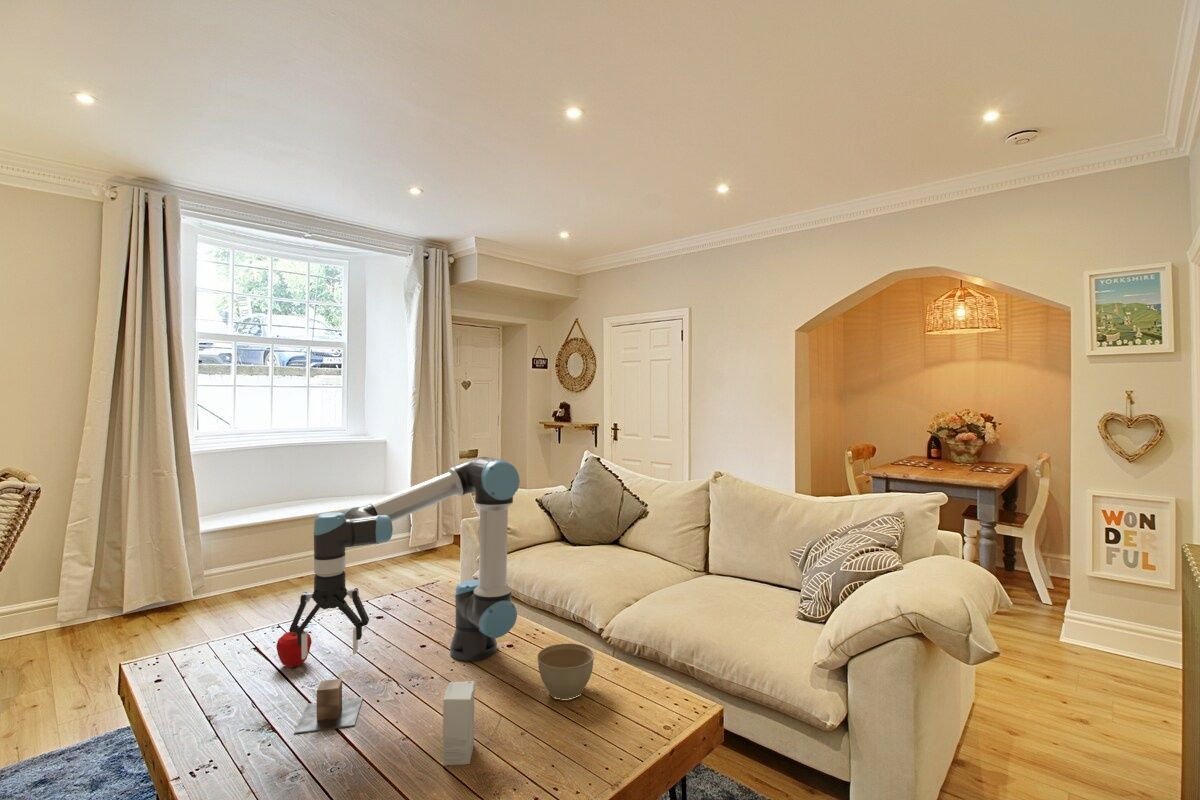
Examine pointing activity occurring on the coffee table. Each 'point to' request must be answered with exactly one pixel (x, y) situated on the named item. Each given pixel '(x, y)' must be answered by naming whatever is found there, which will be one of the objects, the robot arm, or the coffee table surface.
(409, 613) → the coffee table surface
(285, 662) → the apple
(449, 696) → the skincare box
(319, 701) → the tan wooden block
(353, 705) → the grey square base plate
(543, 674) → the planter bowl
